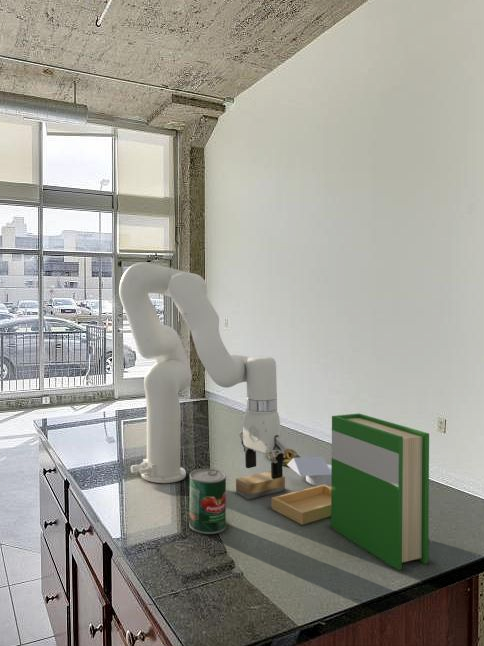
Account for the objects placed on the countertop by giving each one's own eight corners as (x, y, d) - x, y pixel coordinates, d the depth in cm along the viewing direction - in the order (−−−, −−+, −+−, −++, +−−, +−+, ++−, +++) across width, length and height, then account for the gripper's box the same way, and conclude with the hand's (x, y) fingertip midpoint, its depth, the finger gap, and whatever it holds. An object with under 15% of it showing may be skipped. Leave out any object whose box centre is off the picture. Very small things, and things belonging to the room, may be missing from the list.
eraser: (248, 499, 118) (248, 484, 118) (235, 492, 123) (236, 478, 123) (284, 490, 124) (285, 476, 124) (271, 484, 129) (271, 470, 129)
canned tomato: (216, 537, 99) (216, 484, 99) (182, 528, 103) (182, 476, 103) (231, 522, 106) (232, 472, 105) (199, 514, 110) (199, 466, 110)
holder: (302, 524, 105) (302, 513, 105) (271, 508, 113) (271, 497, 113) (356, 508, 113) (356, 497, 113) (323, 494, 122) (324, 484, 122)
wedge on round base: (300, 489, 125) (347, 486, 127) (300, 463, 125) (347, 461, 127) (286, 476, 134) (330, 474, 136) (287, 452, 134) (330, 450, 136)
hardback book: (428, 562, 90) (429, 433, 90) (397, 569, 87) (398, 437, 87) (358, 522, 106) (359, 413, 106) (331, 527, 104) (331, 416, 103)
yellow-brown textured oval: (260, 456, 155) (283, 471, 141) (259, 442, 155) (282, 455, 141) (286, 451, 158) (312, 465, 143) (284, 436, 158) (310, 449, 143)
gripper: (229, 401, 129) (230, 465, 129) (274, 413, 114) (276, 485, 114) (251, 398, 133) (252, 461, 133) (297, 409, 118) (299, 479, 117)
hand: (263, 472), depth 123 cm, fingers open, 9 cm apart
